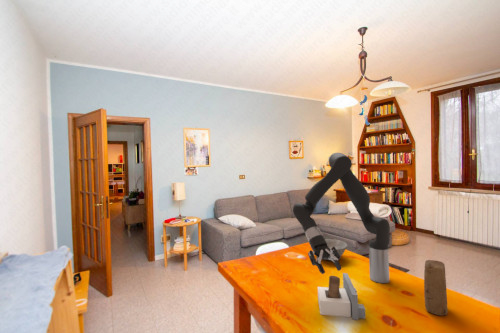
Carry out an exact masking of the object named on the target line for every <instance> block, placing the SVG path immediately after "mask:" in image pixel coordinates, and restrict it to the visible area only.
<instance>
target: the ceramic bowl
mask: <svg viewBox="0 0 500 333" xmlns="http://www.w3.org/2000/svg"><path fill="white" fill-rule="evenodd" d="M324 239H325V240H326V242H327V246H328V247H329V248H332V247H335V248H336V250H337V252H338V253H339V255H340V257H341V258H342V255H344V253H345V251H346V249H347V248H348V244H347V242H345V241H343V240H339V239H334V238H333V239H332V238H324ZM330 252H331V251H330ZM330 257H331V256H330ZM324 260H325V261H330V260H329V259H324Z"/></svg>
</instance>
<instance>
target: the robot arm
mask: <svg viewBox="0 0 500 333" xmlns="http://www.w3.org/2000/svg"><path fill="white" fill-rule="evenodd" d="M328 164H329V166H330V169H329V171H328V172H327V173H326V174H325V176H324V177H322V178H321V179H320V180H319V181H317V182H316V183H314V184H313V186H312V187H311V188H310V189H309V190H308V191H307V193H306V194H305V196H304V199H305V203H301V202H297V203H295V204H294V205H293V207H292V212H293V216H294V217H295V219H297V221H298V223H299V224H300V225H301V227H302V230H303V232H304V234H305V237H306V239H307V241H308V243H309V246H310V248H311V250H309V251H308V253H307V255H308V257H309V260H310V262H311V265H312V266H316V267H317V268H318V271H319V272H320V273H321V275H324V274H325V273H326V270H325V269H324V266H323V264H322V263H321V261H322V260H325V259H329V260H328V261H332V262H333V263H334V266H335V268H336V270H337V271H338V272H339V271H341V270H342V266H341V264H340V261H339V260H341V258H342V256H341V257H340V255H339V253H338V252H337V250H336V248H335V247H332V248H329V247H328V246H327V242H326V240H325V239H326V238H325V237H324V235H323V232H322V231H321V230H320V228H319V227H318V224H317V222H316V220H315V219H314V218H313V217H311V216H312V214H313V213H314V211H315V209H316V206H317V204H318V203H319V201H321V199H322V198H323V197H324V196H325V194H326V193H327V192H328V190H330V189H331V188H332V186H334V184H336V183H337V182H339V180H340V183H341V185H342V187H343V189H344V191H345V193H346V194H347V197H348V198H349V200H350V202H351V203H352V205H353V206H354V209H355V210H356V212H357V214H358V215H359V217H360V219H361V221H362V224H363V226H364V228H365V230H366V231H367V232H368V233H369V234H374V235H375V239H371V240H368V253H369V254H368V255H369V258H368V259H369V262H368V263H369V278H370V280H371V281H373V282H375V283H379V284H387V283H390V261H389V260H390V258H389V245H390V238H391V237H390V233H391V229H390V228H391V227H390V222H389V221H388V219H386V218H383V217H377V216H375V215H374V214H373V213H372V211H371V209H370V203H371V198H370V197H371V196H370V195H369V192H368V191H367V190H366V188H365V186H364V185H363V183H362V182H361V180H360V179H359V178H358V177H357V176H356V175H355V174H354V173H353V171H352V169H351V168H352V164H353V161H352V160H351V158H350V157H349V156H347V155H345V154H344V153H341V152H333V153H331V155H330V156H329V159H328ZM330 251H331V252H330ZM315 256H316V258H315ZM330 256H331V257H330Z"/></svg>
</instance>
